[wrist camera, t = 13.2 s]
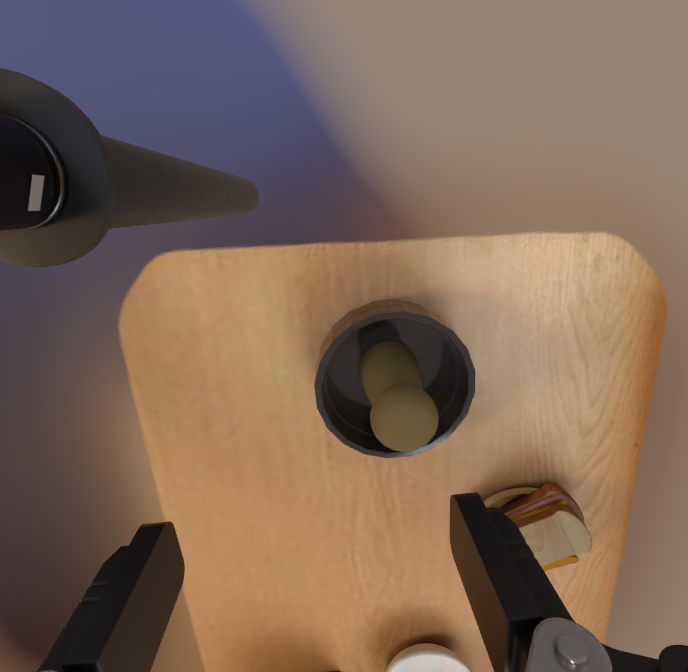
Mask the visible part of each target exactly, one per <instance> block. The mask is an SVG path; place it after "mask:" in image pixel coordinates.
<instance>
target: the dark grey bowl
mask: <svg viewBox="0 0 688 672" xmlns="http://www.w3.org/2000/svg"><path fill="white" fill-rule="evenodd" d="M388 341H394V342H398V343H402V344H403V345H405V346H407V347H408V348H410V350H411V351H412V352H413V353H414V354H415V356H416V359H417V362H418V365H419V371H420V376H421V381H422V387H423V390H424V391H425V392H427V394H428V395H429V396H430V397H431V398H432V399H433V401H434V403H435V405H436V408H437V411H438V427H437V430H436V432H435V435H434V436H433V437H432V438H431V440H430V441H429V442H428V443H427V444H426V445H424V446H423V447H421V448H420V449H417V450H414V451H409V452H401V451H396V450H392V449H390V448H388V447H386V446H384V445H383V444H382V443H381V442H380V441H379V440H378V439H377V437H376V436H375V434H374V432H373V430H372V427H371V421H370V412H371V409H372V404H371V402H370V400H369V398H368V396H367V394H366V392H365V390H364V388H363V386H362V383H361V381H360V379H359V376H358V366H359V362H360V359H361V357H362V356H363V354H364V353H365V352H366V351H367V350H368V349H369V348H371V347H372V346H373V345H375V344H378V343H381V342H388ZM314 387H315V395H316V403H317V409H318V410H319V412H320V414H321V416H322V418H323V420H324V422H325V424H326V426H327V428H328V429H329V430H330V431H331V432H332V433H333V434H334V435H335V436H336V437H337V438H338V439H339V440H340V441H341V442H342V443H344V444H345V445H347V446H349V447H351V448H353V449H355V450H357V451H359V452H361V453H363V454H367V455H373V456H378V457H383V458H394V457H405V456H412V455H415V454H417V453H420V452H423V451H425V450H428V449H431V448H433V447H435V446H436V445H437V444H439V443H440V442H442V441H443V440H444V439H446V438H447V437H449V436H450V435H451V434H452V433H453V432H454V431H455V430H456V428H457V427H458V426H459V424H460V423H461V422H462V421H463V419H464V418H465V417H466V415H467V413H468V410H469V407H470V405H471V402H472V399H473V397H474V394H475V369H474V366H473V363H472V360H471V357H470V354H469V352H468V349H467V347H466V346H465V345H464V344H463V343H462V341H461V340H460V339H459V338H458V337H457V335H456V334H455V333H454V332H453V330H452V329H451V328H450V327H449V326H448V325H447V324H446V323H445V322H444V321H443V320H442V319H441V318H440V317H439V316H438V315H436V314H434V313H433V312H431V311H429V310H428V309H426V308H424V307H423V306H421V305H419V304H414V303H410V302H405V301H401V300H388V301H377V302H371V303H369V304H367V305H364V306H362V307H359V308H357V309H355V310H352V311H350V312H349V313H348V314H347V315H345V316H344V317H343V318H342V319H341V320H340V321H338V322H337V323H336V324H335V325H334V326H333V327H332V328H331V330H330V332H329V333H328V335H327V337H326V338H325V340H324V341H323V343H322V345H321V348H320V353H319V357H318V361H317V366H316V375H315V385H314Z"/></svg>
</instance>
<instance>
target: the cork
mask: <svg viewBox="0 0 688 672" xmlns="http://www.w3.org/2000/svg"><path fill="white" fill-rule="evenodd" d="M358 376H359V379H360V381H361V383H362V386H363V388H364V390H365V392H366V394H367V396H368V398H369V400H370V402H371V404H372V409H371V412H370V421H371V427H372V430H373V432H374V434H375V436H376V437H377V439H378V440H379V441H380V442H381V443H382V444H383V445H384V446H386V447H388V448H390V449H392V450H396V451H401V452H409V451H414V450H417V449H420V448H421V447H423V446H424V445H426V444H427V443H428V442H429V441H430V440H431V438H432V437H433V436H434V435H435V432H436V430H437V427H438V411H437V408H436V405H435V403H434V401H433V399H432V398H431V397H430V396H429V395H428V394H427V392H425V391H424V390H423V387H422V381H421V376H420V371H419V365H418V362H417V359H416V356H415V354H414V353H413V352H412V351H411V350H410V348H408V347H407V346H405V345H403V344H402V343H398V342H394V341H388V342H381V343H378V344H375V345H373V346H372V347H371V348H369V349H368V350H367V351H366V352H365V353H364V354H363V356H362V357H361V359H360V362H359V366H358Z"/></svg>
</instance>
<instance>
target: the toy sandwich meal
mask: <svg viewBox="0 0 688 672" xmlns="http://www.w3.org/2000/svg"><path fill="white" fill-rule="evenodd" d="M483 502H484V504H485V506H486V508H487V510H488V511H497V510H500V511H502V512H503V513H504V514H505V515H506V516H507V517H509V518H510V519H511V520H512V521H513V522H514V523H516V525H517V527H518V528H519V530H520V532H521V533H522V535H523V537H524V538H525V540H526V544H528V545H529V547H530V549H531V550H532V552H533V554H534V557H535V559H537V560H538V562H539V564H540V565H541V567H542V569H543V570H544V572H545V571H548V570H550V569H553V568H557V567H561V566H564V565H568V564H572V563H576V562H578V561H579V559H578V557H577V556H575V554H579V553H587V552H589V551H590V550H591V547H592V540H591V536H590V534H589V531H588V529H587V528H586V526H585V524H584V517H583V514H582V512H581V510H580V508H579V507H578V505H577V503H576V502H575V500H574V499H573V498H572V497H571V496H570V495H569V494H568V493H567V492H565V491H564V490H563V489H561V488H559V487H558V486H555V485H553V484H545V485H544V486H543V487H542V488H541V489H537V488H529V487H521V488H511V489H507V490H503V491H500V492H497V493H495V494H493V495H491V496H490V497H488V498H486V499H485V500H484V501H483Z"/></svg>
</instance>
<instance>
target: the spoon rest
mask: <svg viewBox="0 0 688 672" xmlns="http://www.w3.org/2000/svg"><path fill="white" fill-rule="evenodd" d="M385 672H471V670H470V669H469V667H468V666H467V665H466V663H465V662H464V661H463V660H462V659H461V658H460V657H459V656H458V655H457V654H455V653H454V652H452V651H451V650H449V649H447V648H445V647H443V646H440V645H436V644H430V643H422V644H416V645H413V646H410V647H408V648H406V649H404V650H402V651H401V652H399V653H398V654H397V655H396V656H395V657H394V658H393V659H392V660H391V662H390V663H389V665H388V667H387V669H386V671H385Z"/></svg>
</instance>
